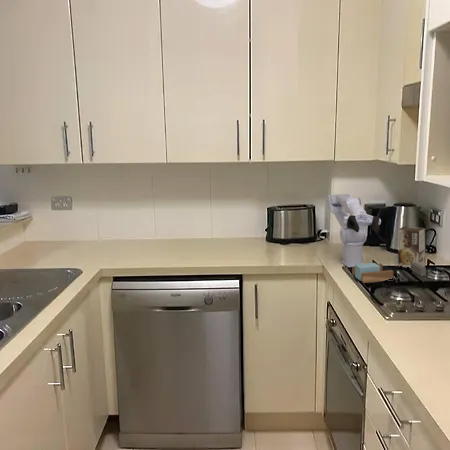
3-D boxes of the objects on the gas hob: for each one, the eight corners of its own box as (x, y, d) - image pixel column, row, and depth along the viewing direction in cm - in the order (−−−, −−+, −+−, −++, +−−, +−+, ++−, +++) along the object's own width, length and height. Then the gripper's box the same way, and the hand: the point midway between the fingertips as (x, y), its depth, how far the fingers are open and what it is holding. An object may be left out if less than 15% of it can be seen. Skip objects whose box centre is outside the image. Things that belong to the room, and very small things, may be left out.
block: (355, 276, 188) (355, 264, 187) (374, 274, 188) (374, 262, 187) (360, 280, 183) (360, 268, 182) (379, 278, 184) (380, 266, 183)
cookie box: (425, 266, 196) (426, 227, 193) (418, 269, 191) (419, 230, 188) (404, 262, 202) (404, 225, 199) (397, 266, 198) (397, 228, 195)
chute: (352, 274, 190) (352, 266, 190) (380, 271, 192) (380, 263, 191) (363, 282, 180) (363, 274, 179) (393, 279, 181) (393, 271, 181)
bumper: (410, 270, 192) (410, 263, 191) (415, 269, 192) (415, 262, 191) (421, 275, 184) (421, 268, 183) (425, 275, 184) (426, 268, 183)
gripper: (342, 204, 190) (351, 220, 178) (377, 206, 191) (389, 222, 179) (339, 220, 193) (347, 236, 181) (374, 222, 194) (384, 238, 182)
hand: (368, 230), depth 180 cm, fingers open, 7 cm apart
